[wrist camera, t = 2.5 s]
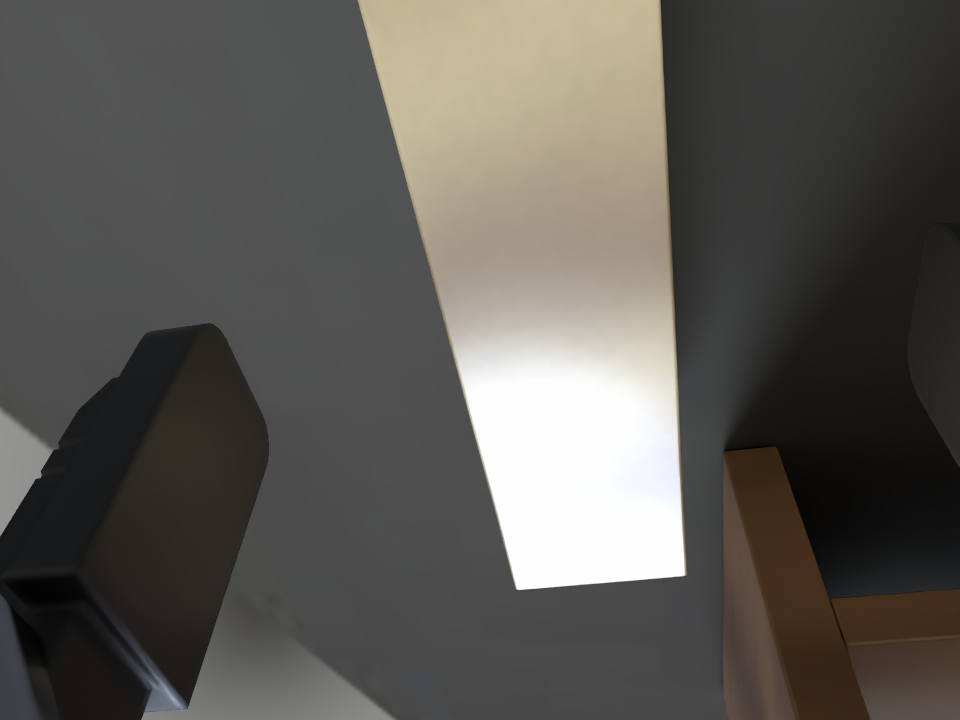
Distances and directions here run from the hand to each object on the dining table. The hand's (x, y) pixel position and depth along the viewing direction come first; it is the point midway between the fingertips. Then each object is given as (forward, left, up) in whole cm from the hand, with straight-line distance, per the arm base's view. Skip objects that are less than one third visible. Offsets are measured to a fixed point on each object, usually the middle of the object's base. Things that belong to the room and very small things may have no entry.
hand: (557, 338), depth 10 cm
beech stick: (0, 0, -6) cm, 6 cm away
